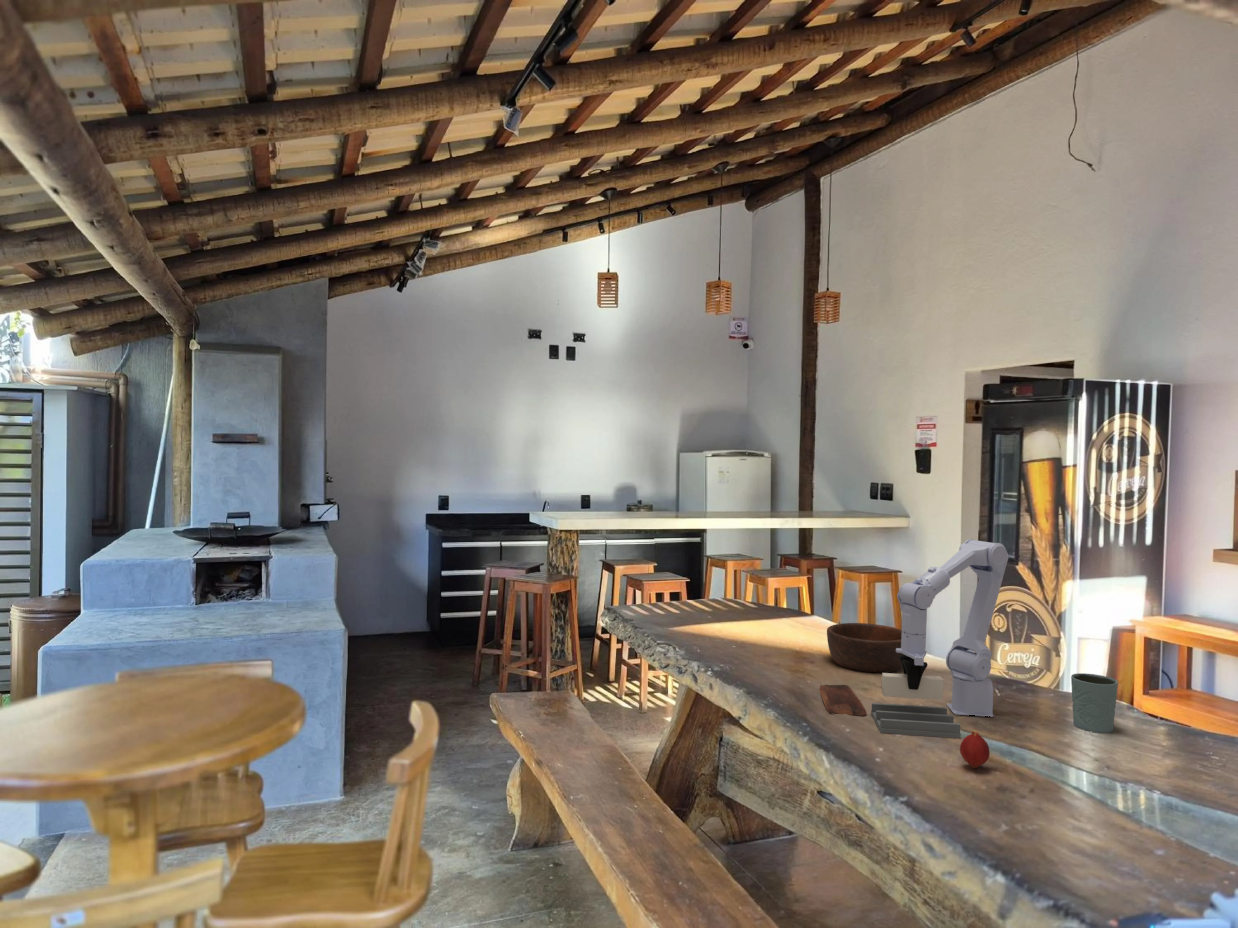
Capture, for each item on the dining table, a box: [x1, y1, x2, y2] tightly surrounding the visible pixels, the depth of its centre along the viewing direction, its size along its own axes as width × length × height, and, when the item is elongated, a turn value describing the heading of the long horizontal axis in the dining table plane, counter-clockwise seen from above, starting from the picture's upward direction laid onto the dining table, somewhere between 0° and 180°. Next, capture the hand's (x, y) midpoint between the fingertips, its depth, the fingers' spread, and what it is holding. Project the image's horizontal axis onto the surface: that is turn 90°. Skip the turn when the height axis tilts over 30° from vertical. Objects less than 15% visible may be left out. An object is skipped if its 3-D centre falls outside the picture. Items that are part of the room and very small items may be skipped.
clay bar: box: [881, 672, 945, 701], centre depth 207 cm, size 14×3×5 cm, turn 82°
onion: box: [959, 730, 991, 769], centre depth 178 cm, size 6×6×8 cm
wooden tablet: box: [818, 684, 867, 717], centre depth 223 cm, size 26×2×10 cm
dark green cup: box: [1070, 672, 1119, 734], centre depth 206 cm, size 10×10×12 cm
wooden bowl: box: [826, 622, 904, 673], centre depth 259 cm, size 25×25×10 cm
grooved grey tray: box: [870, 702, 962, 739], centre depth 204 cm, size 18×14×3 cm
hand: (911, 686), depth 207 cm, fingers closed on clay bar, 3 cm apart
